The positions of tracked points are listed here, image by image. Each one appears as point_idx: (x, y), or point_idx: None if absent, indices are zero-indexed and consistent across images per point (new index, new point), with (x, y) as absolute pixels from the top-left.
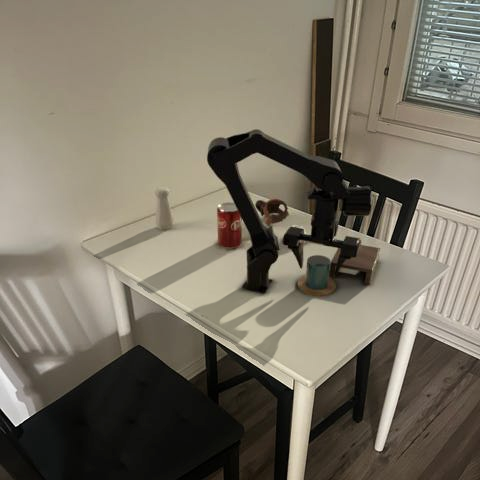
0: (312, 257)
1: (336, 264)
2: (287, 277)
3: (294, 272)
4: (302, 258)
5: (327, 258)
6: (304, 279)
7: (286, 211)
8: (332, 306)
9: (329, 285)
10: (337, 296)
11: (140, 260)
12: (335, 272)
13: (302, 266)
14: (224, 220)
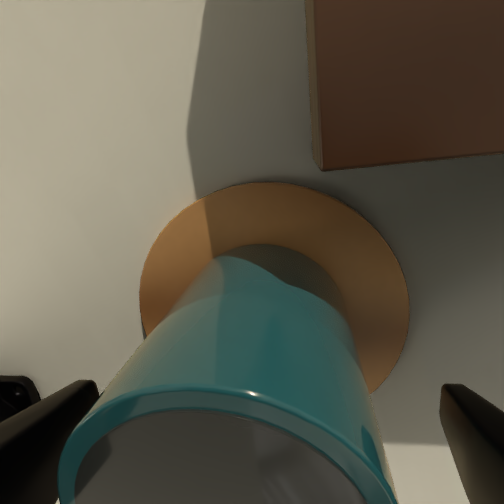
0: (99, 485)
1: (402, 160)
2: (67, 298)
3: (66, 221)
4: (11, 485)
5: (321, 459)
6: (169, 298)
7: None
8: (429, 479)
9: (358, 305)
10: (440, 384)
11: None
12: (465, 474)
13: (90, 396)
14: None
